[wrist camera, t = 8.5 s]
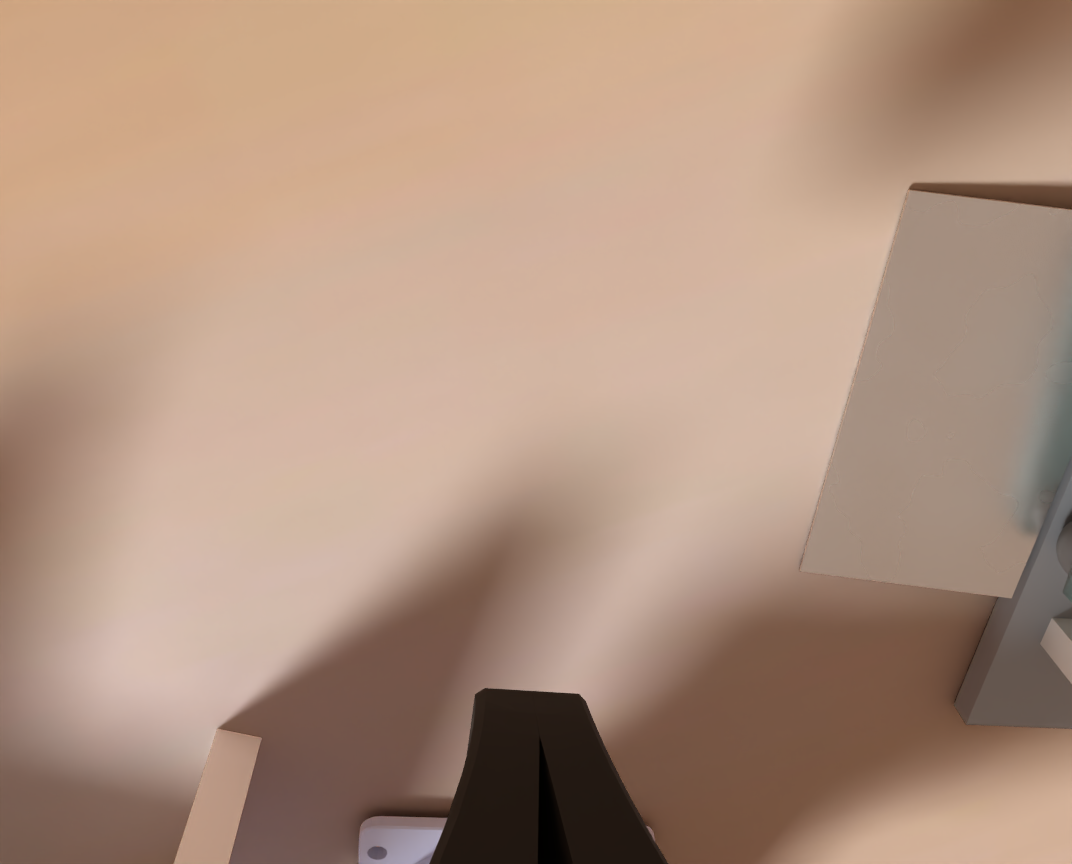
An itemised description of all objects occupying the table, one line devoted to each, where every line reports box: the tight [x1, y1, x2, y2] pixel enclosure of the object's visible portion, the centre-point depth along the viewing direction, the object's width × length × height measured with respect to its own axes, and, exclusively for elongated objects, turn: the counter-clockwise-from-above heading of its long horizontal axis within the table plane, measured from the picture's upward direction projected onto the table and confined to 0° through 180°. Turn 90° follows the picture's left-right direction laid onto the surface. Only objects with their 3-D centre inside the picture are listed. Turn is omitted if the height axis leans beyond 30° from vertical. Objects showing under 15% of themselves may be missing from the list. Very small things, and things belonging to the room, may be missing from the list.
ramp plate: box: [799, 189, 1072, 598], centre depth 20 cm, size 9×5×1 cm, turn 174°
